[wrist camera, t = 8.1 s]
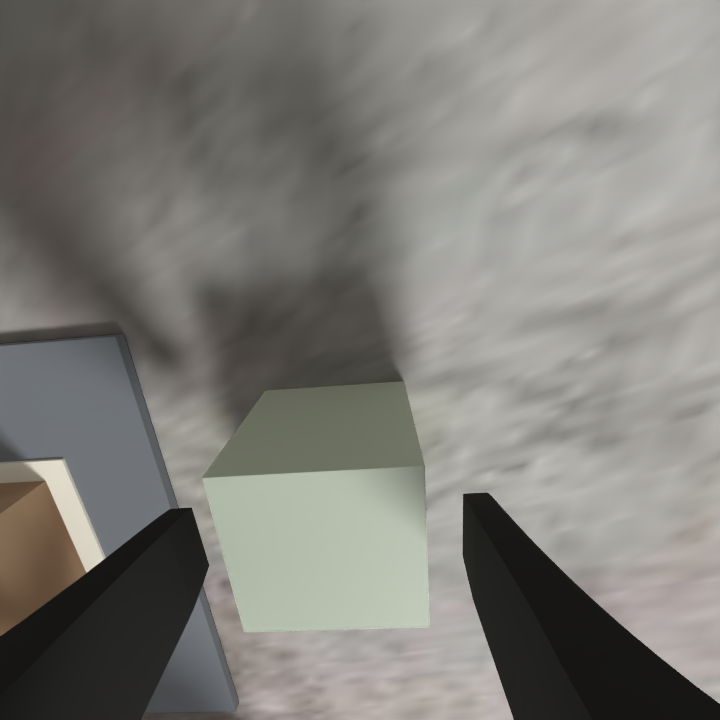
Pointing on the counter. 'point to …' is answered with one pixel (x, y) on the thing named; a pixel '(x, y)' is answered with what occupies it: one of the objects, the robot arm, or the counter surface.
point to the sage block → (324, 511)
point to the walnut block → (32, 551)
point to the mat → (103, 479)
